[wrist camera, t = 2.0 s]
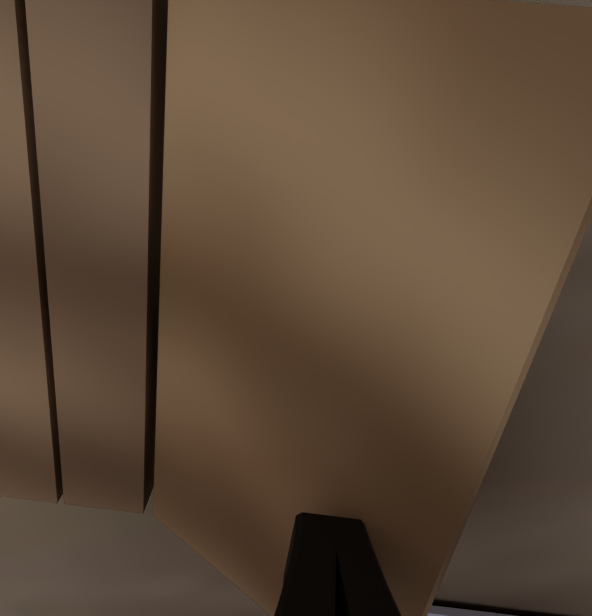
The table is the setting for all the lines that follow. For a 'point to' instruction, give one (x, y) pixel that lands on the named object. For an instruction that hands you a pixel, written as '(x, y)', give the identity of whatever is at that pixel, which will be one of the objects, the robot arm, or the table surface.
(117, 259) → the laid row
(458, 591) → the table surface
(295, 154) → the board
